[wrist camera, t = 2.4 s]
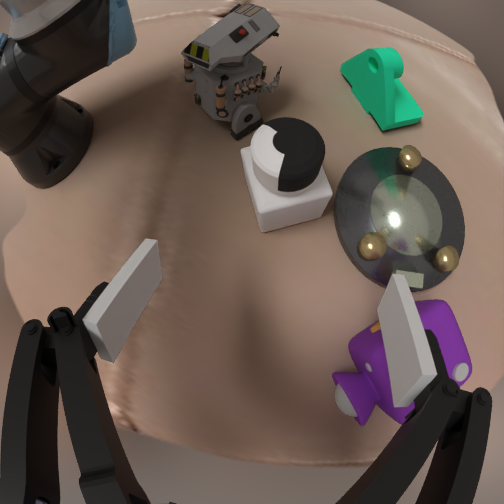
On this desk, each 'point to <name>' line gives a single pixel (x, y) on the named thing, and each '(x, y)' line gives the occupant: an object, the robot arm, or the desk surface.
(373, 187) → the plate
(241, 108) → the figurine
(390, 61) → the camera mount
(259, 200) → the medicine bottle
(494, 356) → the desk surface
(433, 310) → the toy camera
